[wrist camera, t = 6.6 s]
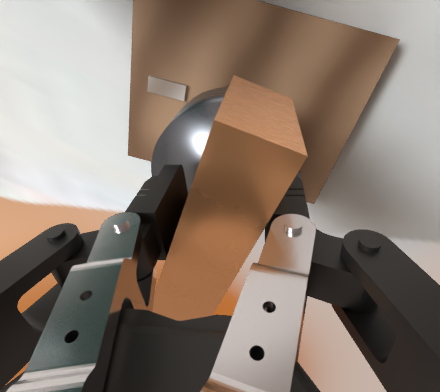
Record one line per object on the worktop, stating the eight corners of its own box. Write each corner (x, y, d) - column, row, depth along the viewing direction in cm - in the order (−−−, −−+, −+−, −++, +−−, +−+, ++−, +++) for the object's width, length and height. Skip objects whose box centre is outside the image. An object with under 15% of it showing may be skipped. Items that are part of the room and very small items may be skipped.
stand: (391, 37, 20) (471, 59, 12) (311, 195, 28) (329, 269, 20) (142, -31, 20) (62, -52, 12) (133, 148, 28) (82, 205, 20)
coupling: (192, 42, 13) (119, 83, 6) (331, 98, 14) (392, 188, 7) (152, 198, 18) (90, 307, 12) (253, 234, 19) (246, 356, 12)
